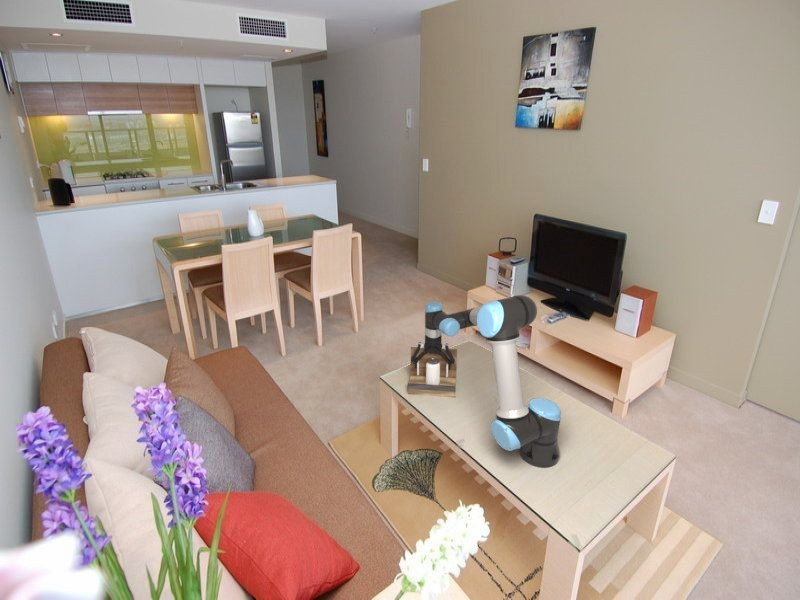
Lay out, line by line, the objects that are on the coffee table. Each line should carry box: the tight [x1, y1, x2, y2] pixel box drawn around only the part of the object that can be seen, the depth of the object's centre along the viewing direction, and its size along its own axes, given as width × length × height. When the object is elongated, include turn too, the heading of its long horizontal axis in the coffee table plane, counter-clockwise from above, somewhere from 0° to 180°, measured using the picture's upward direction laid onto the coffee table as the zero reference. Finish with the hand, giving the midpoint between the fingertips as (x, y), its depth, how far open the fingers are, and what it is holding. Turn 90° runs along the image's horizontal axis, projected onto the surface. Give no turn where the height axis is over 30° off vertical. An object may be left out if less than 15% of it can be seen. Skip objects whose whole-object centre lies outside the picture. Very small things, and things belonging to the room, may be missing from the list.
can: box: [426, 358, 440, 385], centre depth 217 cm, size 6×6×12 cm
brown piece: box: [407, 346, 458, 398], centre depth 218 cm, size 13×22×18 cm, turn 83°
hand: (432, 374), depth 218 cm, fingers open, 13 cm apart
